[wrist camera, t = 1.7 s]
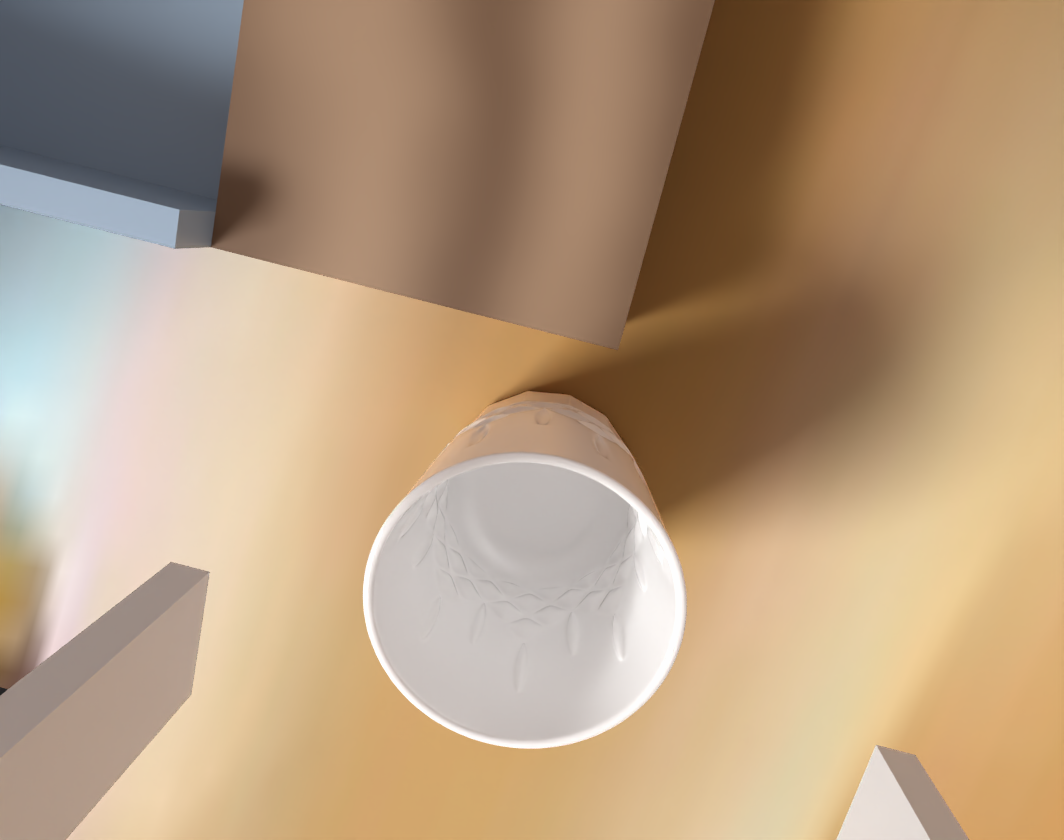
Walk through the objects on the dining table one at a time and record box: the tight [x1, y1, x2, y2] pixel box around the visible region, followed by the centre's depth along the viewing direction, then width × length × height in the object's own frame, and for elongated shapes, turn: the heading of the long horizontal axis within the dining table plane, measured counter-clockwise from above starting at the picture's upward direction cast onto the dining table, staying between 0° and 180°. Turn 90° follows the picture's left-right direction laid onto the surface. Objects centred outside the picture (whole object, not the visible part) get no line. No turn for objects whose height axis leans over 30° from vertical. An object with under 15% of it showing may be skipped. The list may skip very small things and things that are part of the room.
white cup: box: [363, 391, 687, 749], centre depth 23 cm, size 8×8×10 cm
